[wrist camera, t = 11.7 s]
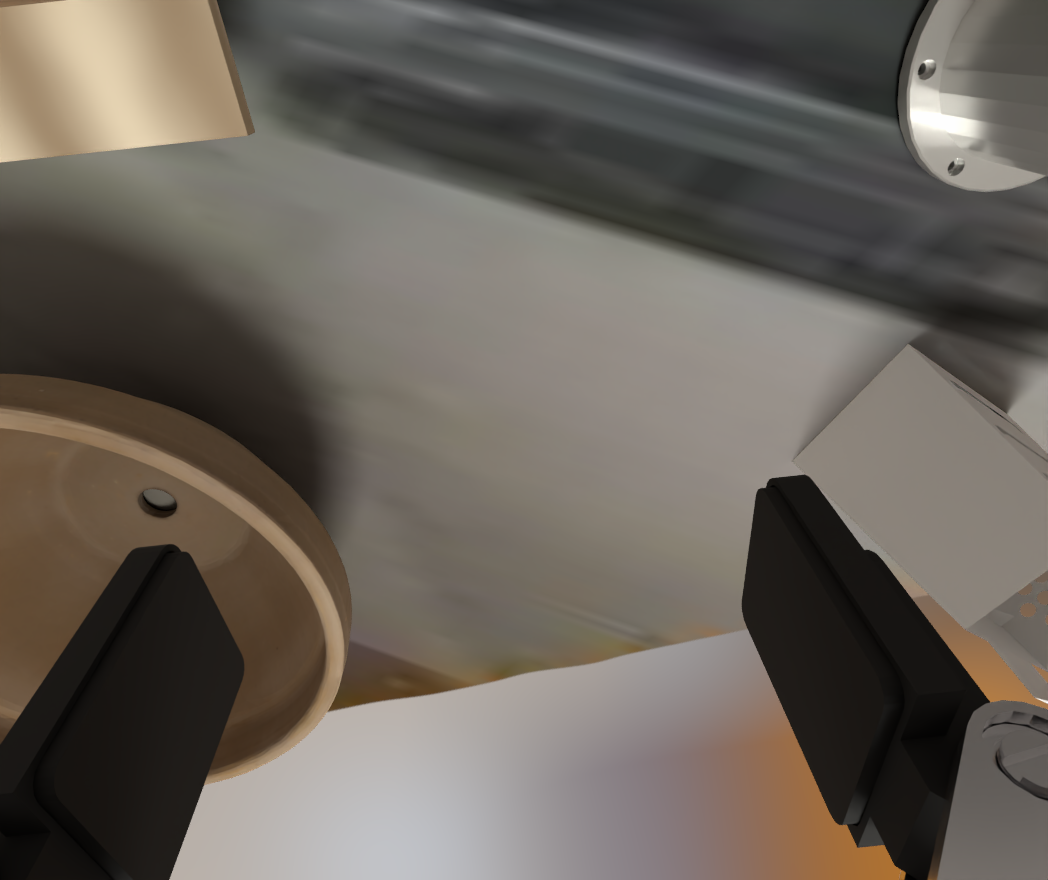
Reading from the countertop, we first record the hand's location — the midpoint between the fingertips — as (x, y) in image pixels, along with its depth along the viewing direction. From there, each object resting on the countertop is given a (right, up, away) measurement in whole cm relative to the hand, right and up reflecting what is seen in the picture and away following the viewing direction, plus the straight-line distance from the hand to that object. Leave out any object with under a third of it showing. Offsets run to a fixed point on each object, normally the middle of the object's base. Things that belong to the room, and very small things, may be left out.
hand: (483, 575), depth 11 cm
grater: (+27, +2, +34) cm, 44 cm away
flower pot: (-24, -1, +33) cm, 41 cm away
